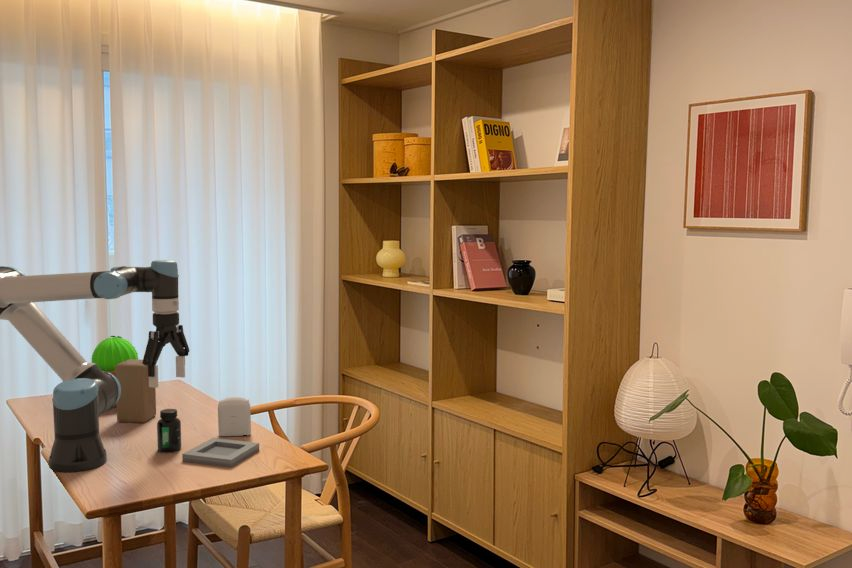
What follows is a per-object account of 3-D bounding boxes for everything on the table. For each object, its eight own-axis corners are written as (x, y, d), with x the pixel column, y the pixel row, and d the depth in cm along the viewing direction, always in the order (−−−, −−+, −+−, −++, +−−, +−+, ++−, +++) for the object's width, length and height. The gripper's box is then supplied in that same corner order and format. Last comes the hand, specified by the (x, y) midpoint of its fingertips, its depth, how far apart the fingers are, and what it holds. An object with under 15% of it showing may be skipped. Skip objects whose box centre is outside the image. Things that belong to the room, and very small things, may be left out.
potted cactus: (115, 412, 275) (113, 342, 272) (70, 404, 284) (68, 337, 281) (160, 398, 295) (158, 333, 292) (117, 391, 304) (115, 328, 301)
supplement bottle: (168, 454, 231) (166, 415, 229) (152, 450, 234) (151, 411, 233) (186, 448, 236) (185, 409, 235) (171, 444, 240) (170, 406, 239)
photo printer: (217, 437, 248) (216, 399, 246) (219, 433, 252) (218, 396, 250) (250, 436, 249) (249, 399, 247) (251, 432, 253) (251, 395, 251)
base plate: (231, 467, 220) (231, 459, 220) (182, 461, 225) (182, 453, 225) (259, 450, 235) (259, 443, 235) (213, 444, 240) (212, 437, 240)
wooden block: (157, 415, 271) (155, 359, 269) (144, 423, 261) (142, 365, 259) (130, 414, 272) (128, 358, 270) (115, 422, 262) (113, 364, 260)
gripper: (150, 318, 218) (152, 392, 220) (200, 307, 242) (201, 374, 244) (128, 317, 220) (130, 390, 223) (179, 306, 244) (180, 372, 246)
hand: (167, 382), depth 233 cm, fingers open, 13 cm apart
